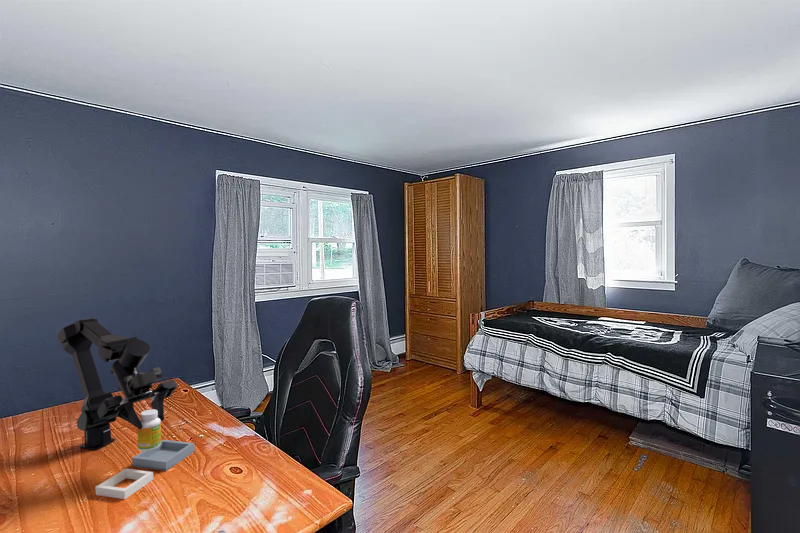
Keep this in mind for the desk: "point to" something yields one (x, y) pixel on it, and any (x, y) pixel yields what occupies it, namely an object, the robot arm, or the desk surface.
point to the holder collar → (123, 493)
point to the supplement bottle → (149, 431)
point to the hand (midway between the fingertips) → (152, 424)
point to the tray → (163, 455)
